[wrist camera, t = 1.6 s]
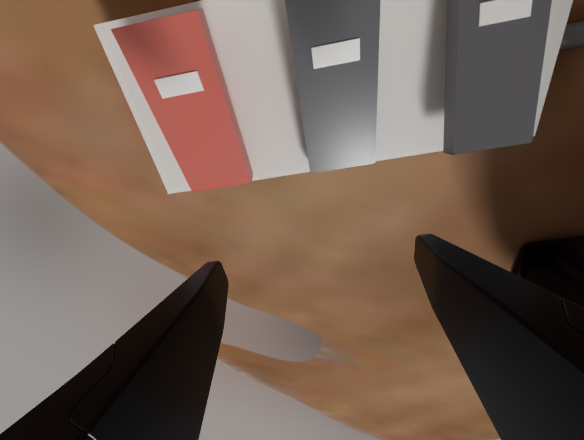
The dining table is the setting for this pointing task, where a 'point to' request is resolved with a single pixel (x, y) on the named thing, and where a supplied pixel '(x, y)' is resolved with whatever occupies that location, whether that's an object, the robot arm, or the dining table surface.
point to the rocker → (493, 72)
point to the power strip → (283, 85)
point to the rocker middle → (336, 78)
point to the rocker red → (188, 97)
